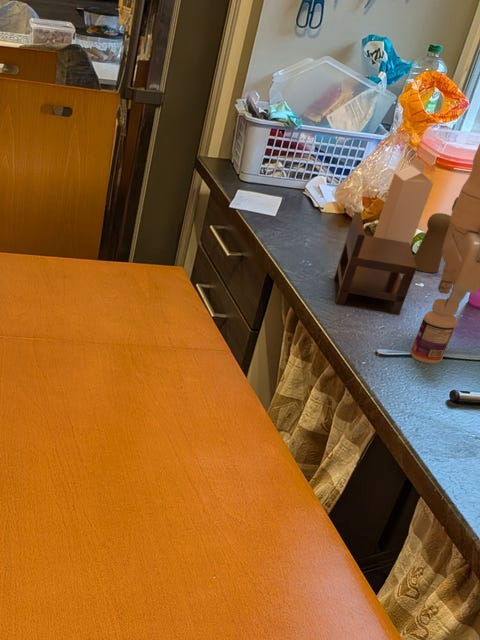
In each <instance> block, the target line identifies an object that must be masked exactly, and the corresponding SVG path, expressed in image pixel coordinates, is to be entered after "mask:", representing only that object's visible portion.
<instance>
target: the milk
mask: <svg viewBox="0 0 480 640" xmlns="http://www.w3.org/2000/svg"><path fill="white" fill-rule="evenodd" d="M425 166H426V163H424V162H423V161H422V160H420V159H419V158H417V157H414V158H413V160H412V163H411V164H410V165H408V166H407V167H404V168H403V169H400V170H398V171H396V172H394V173H393V176H392V179H391V182H390V186H389V188H388V191H387V195H386V197H385V201H384V204H383V207H382V209H381V213H380V216H379V218H378V220H377V221H378V222H377V224H376V228H375V230H374V234H373V235H372V237H377V238H383V239H389V240H395V241H401V242H407V243H409V244H410V247H411V248H412V244H413V241H414V238H415V235H416V233H417V230H418V228H419V224H420V221H421V219H422V216H423V214H424V211H425V207H426V204H427V203H428V200H429V196H430V194H431V191H432V189H433V185H434V182H432V181H431V180H430V178H429V177H427V176H426V175H425V173H423V172H424V170H425ZM400 275H401V273H400Z"/></svg>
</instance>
